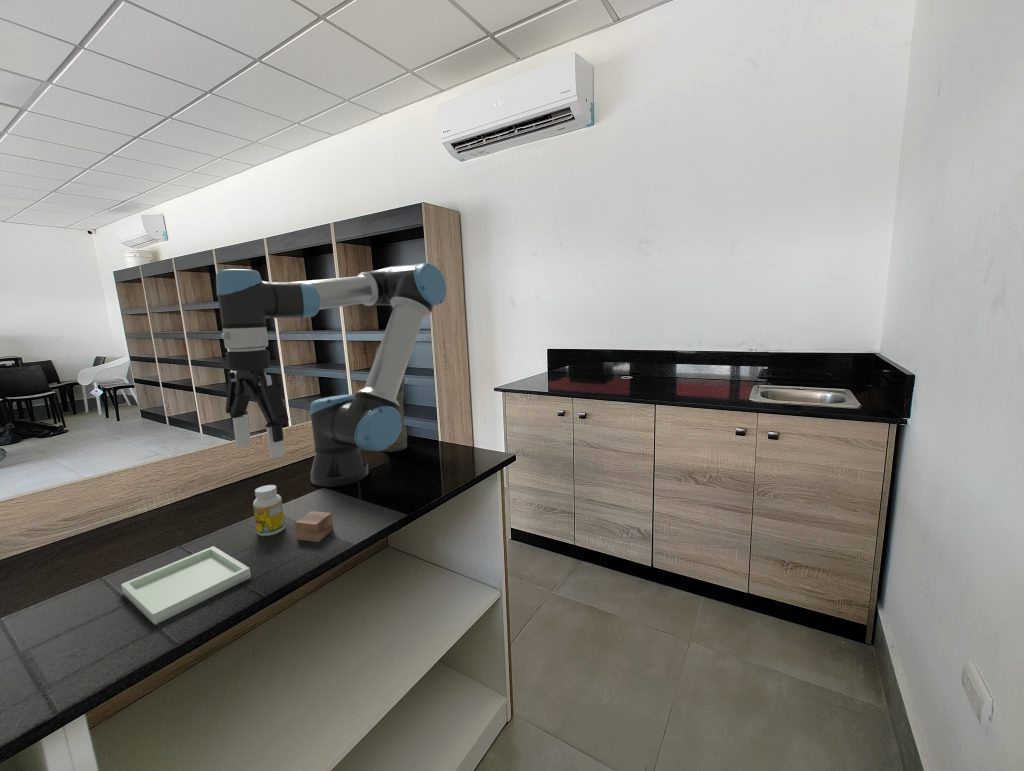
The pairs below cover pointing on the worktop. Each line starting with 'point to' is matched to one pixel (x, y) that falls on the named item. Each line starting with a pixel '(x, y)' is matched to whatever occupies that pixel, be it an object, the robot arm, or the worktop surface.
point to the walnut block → (314, 526)
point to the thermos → (402, 438)
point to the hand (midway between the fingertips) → (260, 451)
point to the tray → (184, 583)
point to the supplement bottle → (268, 511)
